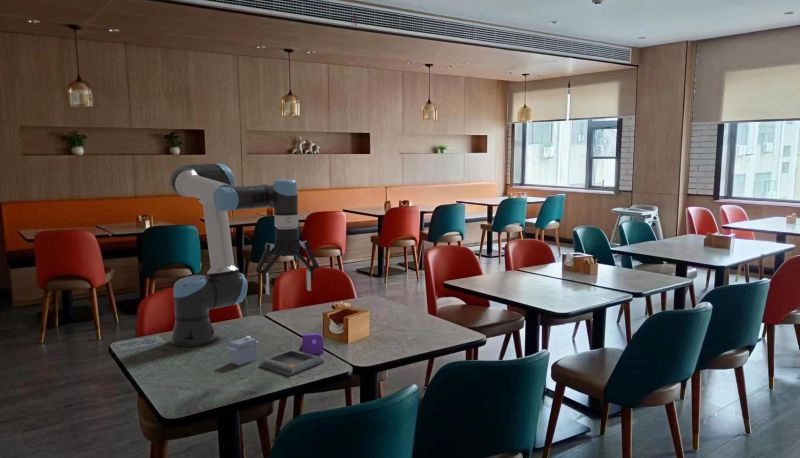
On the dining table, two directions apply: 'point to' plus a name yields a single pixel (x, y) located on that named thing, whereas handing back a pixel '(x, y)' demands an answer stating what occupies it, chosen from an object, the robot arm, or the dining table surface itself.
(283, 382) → the dining table surface
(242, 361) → the servo
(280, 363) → the tray
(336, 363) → the dining table surface
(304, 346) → the purple block
